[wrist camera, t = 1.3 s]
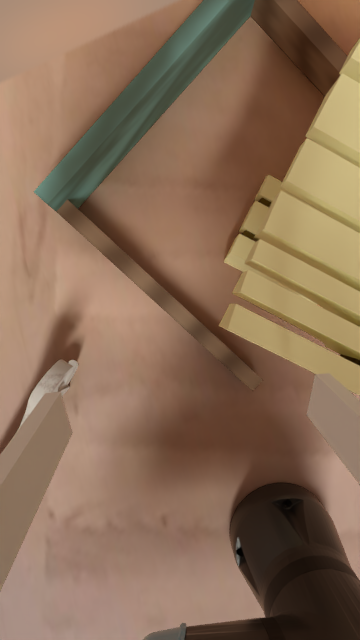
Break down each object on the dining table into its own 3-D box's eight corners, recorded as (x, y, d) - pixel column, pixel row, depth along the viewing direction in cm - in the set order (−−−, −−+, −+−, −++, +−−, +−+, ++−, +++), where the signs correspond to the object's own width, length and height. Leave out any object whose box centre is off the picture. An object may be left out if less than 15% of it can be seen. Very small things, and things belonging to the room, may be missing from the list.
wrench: (-13, 498, 36) (80, 345, 32) (-3, 504, 36) (92, 352, 32) (-69, 559, 28) (45, 366, 24) (-55, 566, 28) (61, 376, 24)
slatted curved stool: (294, 364, 34) (431, 430, 16) (196, 316, 33) (227, 329, 15) (392, 174, 32) (661, 16, 15) (294, 118, 31) (456, -126, 14)
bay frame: (428, 187, 33) (475, 166, 28) (245, 383, 34) (258, 397, 29) (250, -8, 30) (265, -71, 25) (55, 210, 31) (33, 191, 26)
